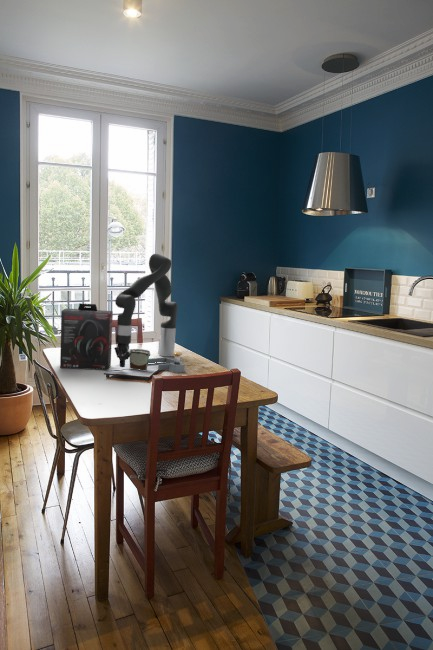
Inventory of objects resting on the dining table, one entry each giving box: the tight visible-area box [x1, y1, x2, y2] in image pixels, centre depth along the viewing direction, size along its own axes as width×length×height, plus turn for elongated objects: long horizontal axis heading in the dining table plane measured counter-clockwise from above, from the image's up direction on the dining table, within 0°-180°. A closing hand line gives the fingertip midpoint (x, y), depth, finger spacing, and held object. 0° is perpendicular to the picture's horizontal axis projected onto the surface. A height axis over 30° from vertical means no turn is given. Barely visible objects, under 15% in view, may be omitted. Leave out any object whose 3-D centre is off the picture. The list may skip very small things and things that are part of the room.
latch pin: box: [173, 351, 183, 364], centre depth 268 cm, size 4×4×6 cm
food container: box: [128, 348, 151, 371], centre depth 267 cm, size 12×6×10 cm, turn 71°
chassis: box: [148, 356, 186, 374], centre depth 275 cm, size 24×16×4 cm
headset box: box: [59, 303, 114, 371], centre depth 260 cm, size 25×12×33 cm, turn 95°
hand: (122, 366), depth 260 cm, fingers closed
